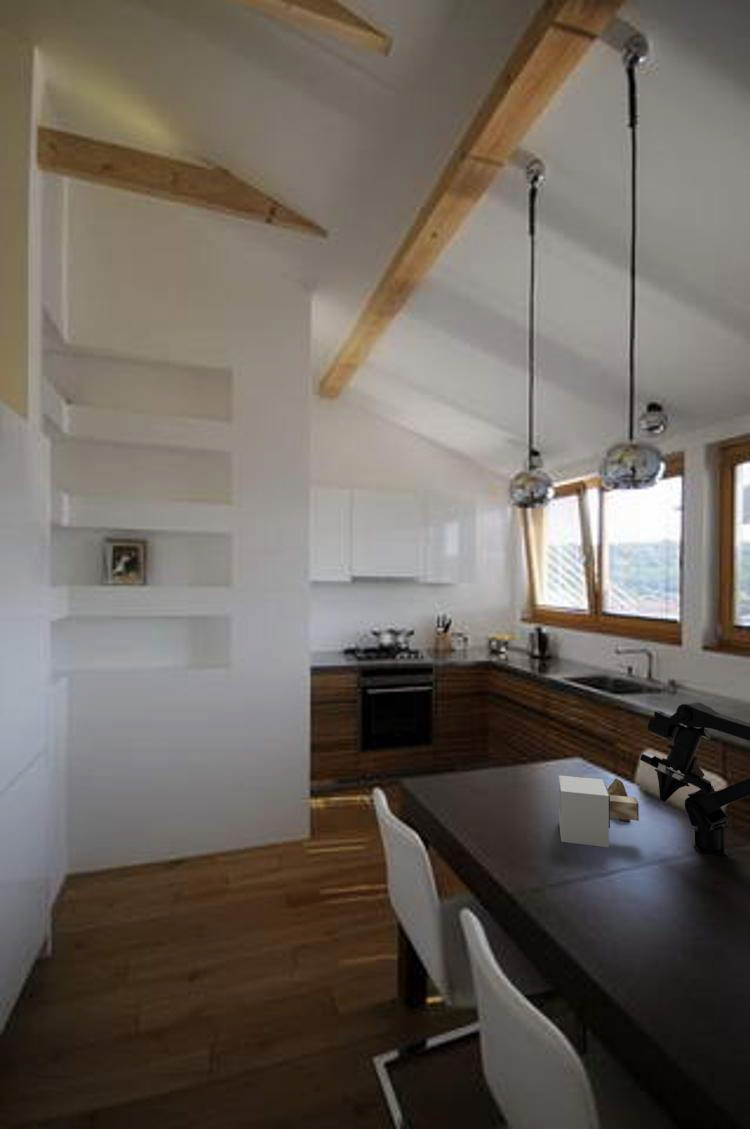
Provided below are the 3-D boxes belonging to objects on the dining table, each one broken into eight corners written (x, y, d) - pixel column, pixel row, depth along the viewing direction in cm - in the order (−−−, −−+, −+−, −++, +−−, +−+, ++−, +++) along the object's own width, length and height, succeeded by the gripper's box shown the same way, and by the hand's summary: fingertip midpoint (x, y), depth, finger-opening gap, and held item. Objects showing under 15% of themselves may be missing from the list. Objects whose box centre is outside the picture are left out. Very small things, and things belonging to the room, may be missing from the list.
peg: (635, 814, 158) (635, 797, 158) (638, 820, 153) (638, 803, 153) (589, 809, 161) (589, 792, 161) (591, 815, 156) (591, 798, 157)
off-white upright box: (605, 827, 163) (604, 779, 164) (611, 847, 151) (611, 796, 151) (559, 822, 167) (558, 775, 167) (561, 841, 154) (561, 791, 155)
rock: (641, 816, 166) (636, 799, 175) (622, 792, 167) (618, 776, 176) (609, 833, 169) (605, 815, 178) (590, 809, 170) (588, 793, 179)
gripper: (734, 770, 150) (712, 826, 148) (674, 745, 167) (654, 795, 165) (707, 755, 146) (684, 813, 144) (649, 732, 163) (628, 783, 162)
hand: (662, 800), depth 154 cm, fingers closed
